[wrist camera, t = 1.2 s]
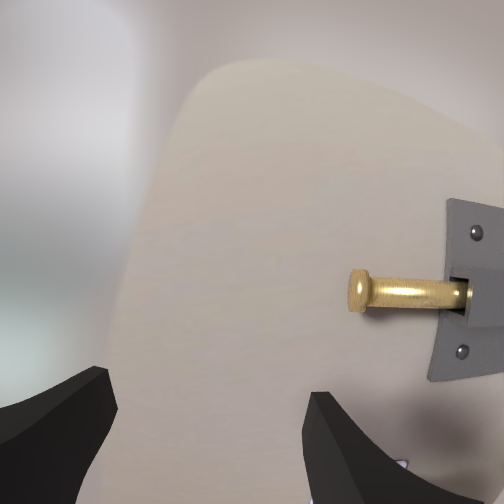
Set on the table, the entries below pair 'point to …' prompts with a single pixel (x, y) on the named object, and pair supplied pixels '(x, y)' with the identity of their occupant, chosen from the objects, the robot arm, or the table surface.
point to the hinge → (472, 294)
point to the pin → (403, 293)
